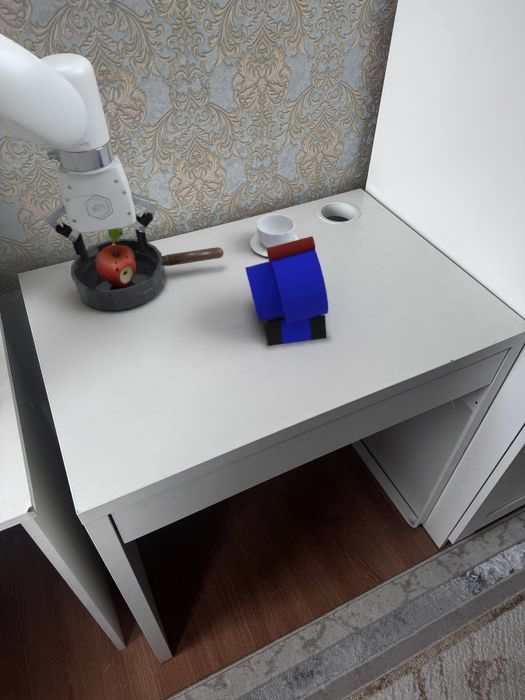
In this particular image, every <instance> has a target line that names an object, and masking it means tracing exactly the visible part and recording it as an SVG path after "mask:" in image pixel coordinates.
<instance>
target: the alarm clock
mask: <svg viewBox="0 0 525 700" xmlns="http://www.w3.org/2000/svg"><path fill="white" fill-rule="evenodd" d="M315 242H316V241H315V239H314V237H313V235H311V236H307V237H303V238H299V240H295V241H292V242H288V243H284V244H280V245H277V246H273V247H269V248H267V254H268V257H267V260H268V261H265V262H261V263H257V264H254V265H250V266H246V267H244V269H245V274H246V277H247V281H248V285H249V289H250V291H251V296H252V300H253V304H254V307H255V308H254V309H255V311H256V315H257V318H258V322H259V323H263V327H264V332H265V337H266V338H265V339H266V342H267V343H266V344H267V347H269V346H270V347H271V346H276V345H284V344H285V345H286V344H291V343H299V342H306V341H315V340H320V339H327V323H326V322H327V321H326V315H327V314H329V300H328V293H327V292H328V291H327V287H326V282H325V278H324V274H323V270H322V265H321V263H320V259H319V256H318V254H317V250H316V243H315ZM278 318H283V319H281V320H274V319H278ZM271 320H274V321H271ZM267 321H268V322H267Z"/></svg>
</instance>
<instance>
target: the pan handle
mask: <svg viewBox="0 0 525 700" xmlns="http://www.w3.org/2000/svg"><path fill="white" fill-rule="evenodd" d="M223 256H224V250H223V249H222V248H221V247H219V246H216V247H209V248H202V249H196V250H190V251H182V252H176V253H170V254H169V253H168V254H164V255H162V260H163V265H164V267H172V266H178V265H185V264H190V263H192V264H193V263H197V262H204V261H211V260H218V259H221V258H222V257H223Z"/></svg>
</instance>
